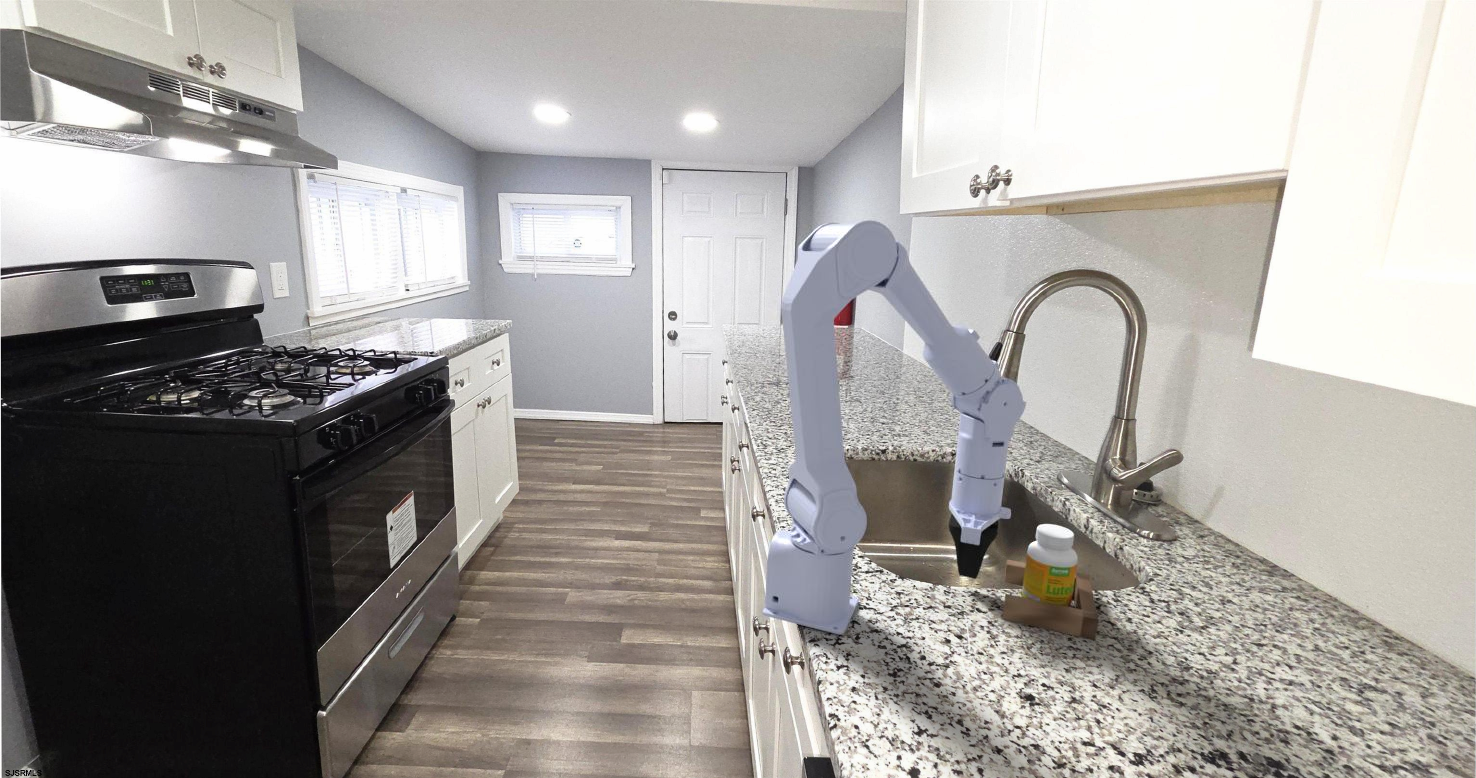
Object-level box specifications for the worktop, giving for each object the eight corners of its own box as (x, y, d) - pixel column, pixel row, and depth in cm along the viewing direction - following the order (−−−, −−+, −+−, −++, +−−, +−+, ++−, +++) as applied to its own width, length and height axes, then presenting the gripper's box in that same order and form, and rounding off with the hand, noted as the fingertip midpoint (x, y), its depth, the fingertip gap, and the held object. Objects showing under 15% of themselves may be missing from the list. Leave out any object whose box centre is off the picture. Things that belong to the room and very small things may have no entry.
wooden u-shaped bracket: (1002, 619, 75) (1005, 599, 75) (1004, 576, 85) (1006, 559, 85) (1095, 639, 72) (1098, 619, 71) (1086, 593, 82) (1088, 574, 81)
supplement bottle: (1043, 620, 75) (1054, 543, 73) (1011, 597, 80) (1020, 523, 78) (1080, 613, 77) (1092, 537, 75) (1046, 591, 82) (1056, 519, 80)
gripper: (1014, 497, 71) (1000, 610, 74) (1015, 459, 84) (1003, 556, 87) (947, 486, 73) (935, 596, 76) (958, 451, 86) (948, 546, 89)
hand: (967, 574), depth 82 cm, fingers closed
